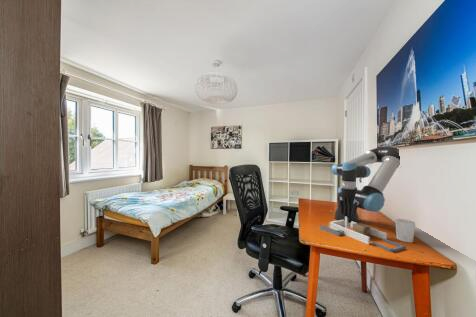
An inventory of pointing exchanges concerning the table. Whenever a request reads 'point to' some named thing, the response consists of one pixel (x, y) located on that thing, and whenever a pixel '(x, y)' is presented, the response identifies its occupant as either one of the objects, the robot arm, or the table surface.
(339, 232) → the crook tool
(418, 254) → the table surface
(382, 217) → the table surface
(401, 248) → the grey bracket
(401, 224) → the white cup
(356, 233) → the cubby
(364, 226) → the walnut cube
